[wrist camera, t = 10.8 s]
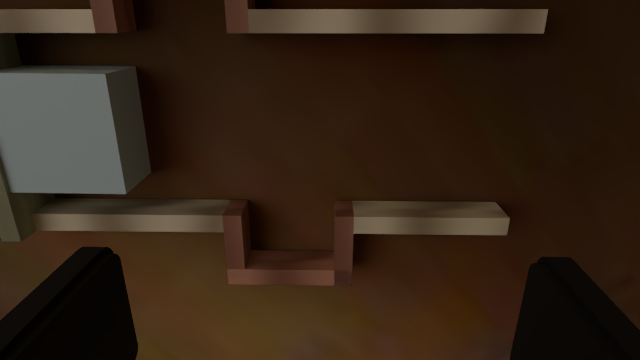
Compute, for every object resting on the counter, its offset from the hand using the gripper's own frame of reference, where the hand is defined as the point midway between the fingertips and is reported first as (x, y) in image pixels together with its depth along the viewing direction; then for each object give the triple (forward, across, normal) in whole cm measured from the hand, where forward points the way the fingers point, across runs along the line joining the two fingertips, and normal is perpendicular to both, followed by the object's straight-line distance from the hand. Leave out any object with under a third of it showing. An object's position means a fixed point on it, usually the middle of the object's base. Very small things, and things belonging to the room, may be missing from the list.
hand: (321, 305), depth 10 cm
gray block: (+18, +16, 0) cm, 24 cm away
